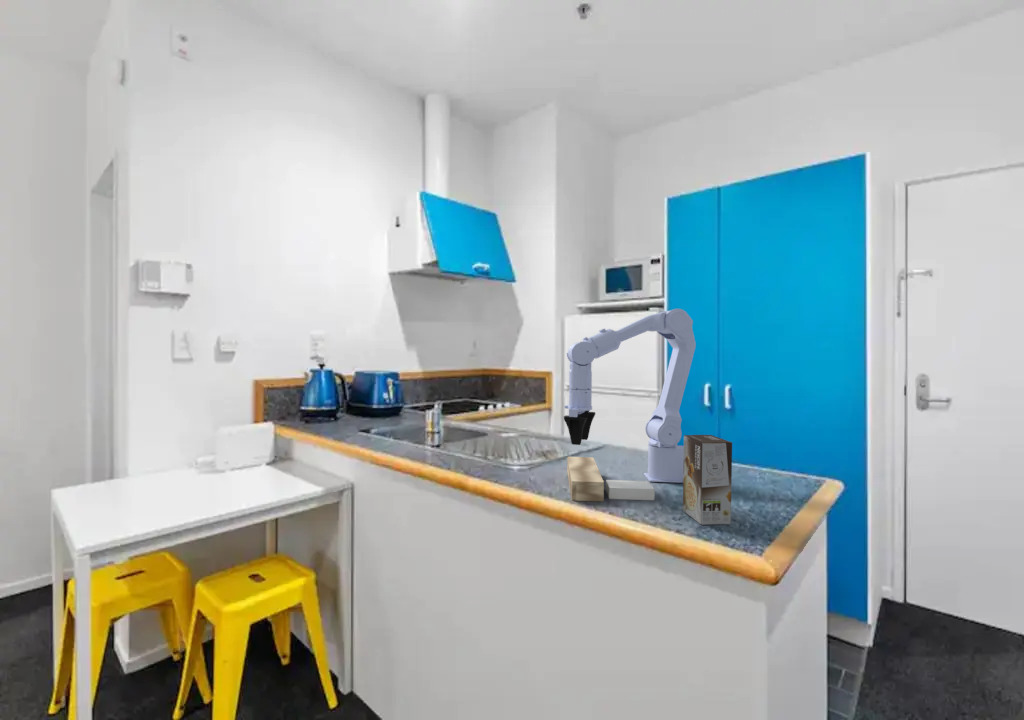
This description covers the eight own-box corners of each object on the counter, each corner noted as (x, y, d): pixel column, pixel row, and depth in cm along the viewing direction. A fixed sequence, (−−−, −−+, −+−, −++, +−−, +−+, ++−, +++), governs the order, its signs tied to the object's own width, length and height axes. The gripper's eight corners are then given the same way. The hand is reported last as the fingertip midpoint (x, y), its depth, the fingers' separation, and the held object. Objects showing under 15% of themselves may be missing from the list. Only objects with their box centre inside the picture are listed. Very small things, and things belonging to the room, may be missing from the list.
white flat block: (648, 491, 120) (648, 481, 120) (654, 500, 113) (654, 489, 113) (605, 490, 121) (605, 479, 121) (609, 498, 114) (609, 487, 114)
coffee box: (732, 524, 98) (734, 442, 98) (700, 525, 97) (702, 442, 97) (710, 509, 107) (711, 434, 107) (680, 510, 106) (682, 434, 106)
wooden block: (593, 473, 137) (593, 457, 137) (603, 501, 112) (603, 482, 112) (567, 472, 138) (567, 456, 138) (571, 500, 112) (572, 481, 112)
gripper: (572, 386, 138) (572, 436, 138) (557, 390, 124) (556, 445, 125) (598, 387, 135) (597, 438, 136) (585, 391, 122) (584, 447, 122)
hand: (579, 441), depth 130 cm, fingers open, 7 cm apart
